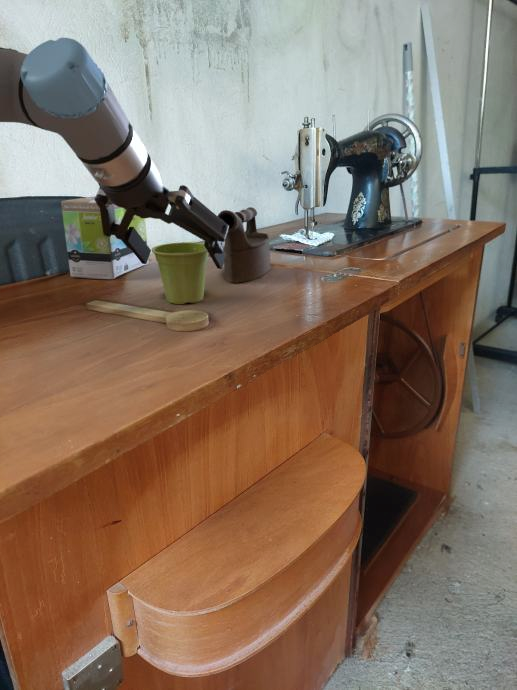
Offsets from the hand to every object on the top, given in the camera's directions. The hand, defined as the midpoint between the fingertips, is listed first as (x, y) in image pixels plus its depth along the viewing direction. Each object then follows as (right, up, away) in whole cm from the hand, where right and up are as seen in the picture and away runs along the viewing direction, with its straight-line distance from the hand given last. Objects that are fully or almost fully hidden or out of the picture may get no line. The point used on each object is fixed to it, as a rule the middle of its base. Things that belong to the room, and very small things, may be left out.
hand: (183, 259), depth 84 cm
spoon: (-5, -10, -7) cm, 13 cm away
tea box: (-18, +1, +23) cm, 29 cm away
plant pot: (0, -7, +1) cm, 7 cm away
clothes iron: (+9, -1, +16) cm, 18 cm away
